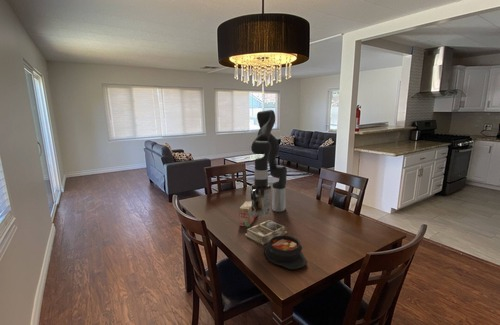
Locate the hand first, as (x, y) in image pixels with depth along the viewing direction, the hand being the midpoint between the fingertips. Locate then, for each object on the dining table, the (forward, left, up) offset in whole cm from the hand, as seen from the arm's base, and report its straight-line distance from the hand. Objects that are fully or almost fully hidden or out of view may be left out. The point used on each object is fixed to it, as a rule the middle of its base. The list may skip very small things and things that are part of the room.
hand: (260, 205), depth 144 cm
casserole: (+7, +23, -20) cm, 31 cm away
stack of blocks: (-11, -22, -20) cm, 31 cm away
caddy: (-4, 0, -19) cm, 20 cm away
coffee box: (0, 0, -5) cm, 5 cm away
